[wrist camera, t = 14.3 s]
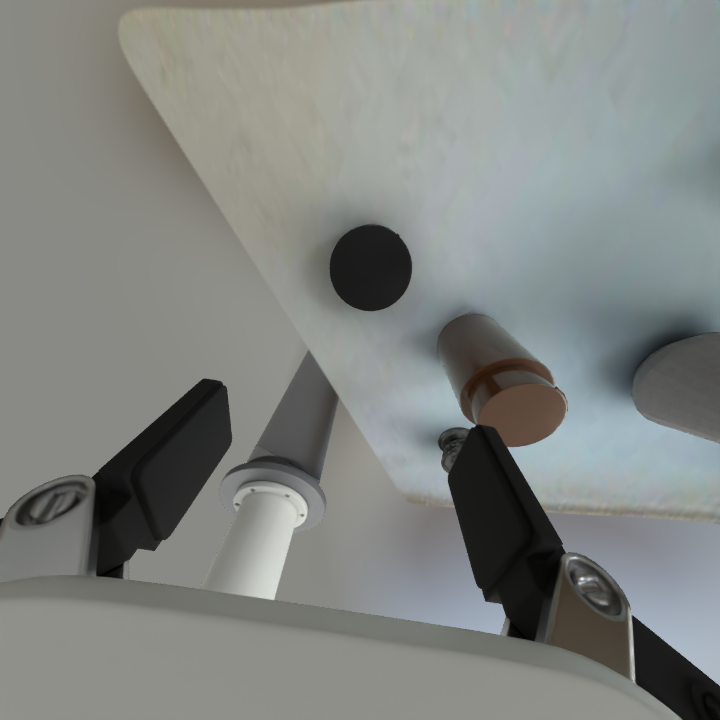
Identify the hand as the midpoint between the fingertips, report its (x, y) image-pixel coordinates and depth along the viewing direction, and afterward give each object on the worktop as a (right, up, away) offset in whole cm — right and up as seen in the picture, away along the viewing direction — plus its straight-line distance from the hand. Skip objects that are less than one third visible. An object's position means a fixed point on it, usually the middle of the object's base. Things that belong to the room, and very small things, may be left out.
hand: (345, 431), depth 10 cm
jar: (+13, +5, +19) cm, 24 cm away
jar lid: (+1, +11, +14) cm, 18 cm away
